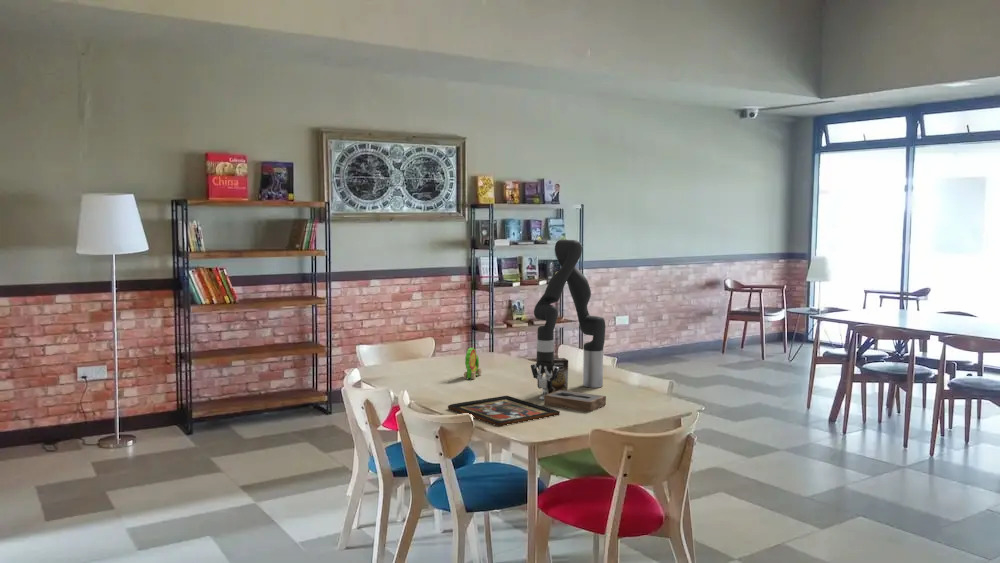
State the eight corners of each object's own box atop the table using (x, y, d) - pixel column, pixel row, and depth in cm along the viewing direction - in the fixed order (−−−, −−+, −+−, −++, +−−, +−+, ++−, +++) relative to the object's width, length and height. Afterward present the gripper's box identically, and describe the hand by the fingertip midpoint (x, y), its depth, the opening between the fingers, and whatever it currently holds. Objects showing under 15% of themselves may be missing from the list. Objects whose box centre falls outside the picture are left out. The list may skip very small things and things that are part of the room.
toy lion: (471, 374, 410) (471, 344, 409) (482, 375, 409) (482, 345, 408) (461, 380, 395) (462, 349, 394) (472, 381, 394) (472, 350, 392)
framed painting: (440, 411, 332) (440, 404, 332) (501, 399, 357) (501, 393, 357) (505, 430, 305) (505, 422, 305) (566, 416, 330) (566, 409, 330)
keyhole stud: (542, 397, 358) (543, 376, 357) (551, 399, 355) (551, 377, 355) (537, 399, 354) (538, 378, 353) (546, 400, 352) (546, 379, 351)
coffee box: (548, 396, 361) (548, 360, 360) (544, 393, 368) (545, 357, 366) (568, 395, 363) (568, 359, 362) (564, 392, 369) (564, 357, 368)
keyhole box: (560, 398, 356) (560, 389, 356) (605, 405, 344) (605, 396, 344) (544, 404, 345) (544, 395, 344) (590, 411, 332) (590, 402, 332)
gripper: (563, 350, 352) (563, 389, 354) (535, 347, 360) (535, 385, 361) (555, 352, 346) (554, 392, 347) (526, 349, 354) (526, 388, 355)
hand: (544, 388), depth 354 cm, fingers closed on keyhole stud, 4 cm apart
